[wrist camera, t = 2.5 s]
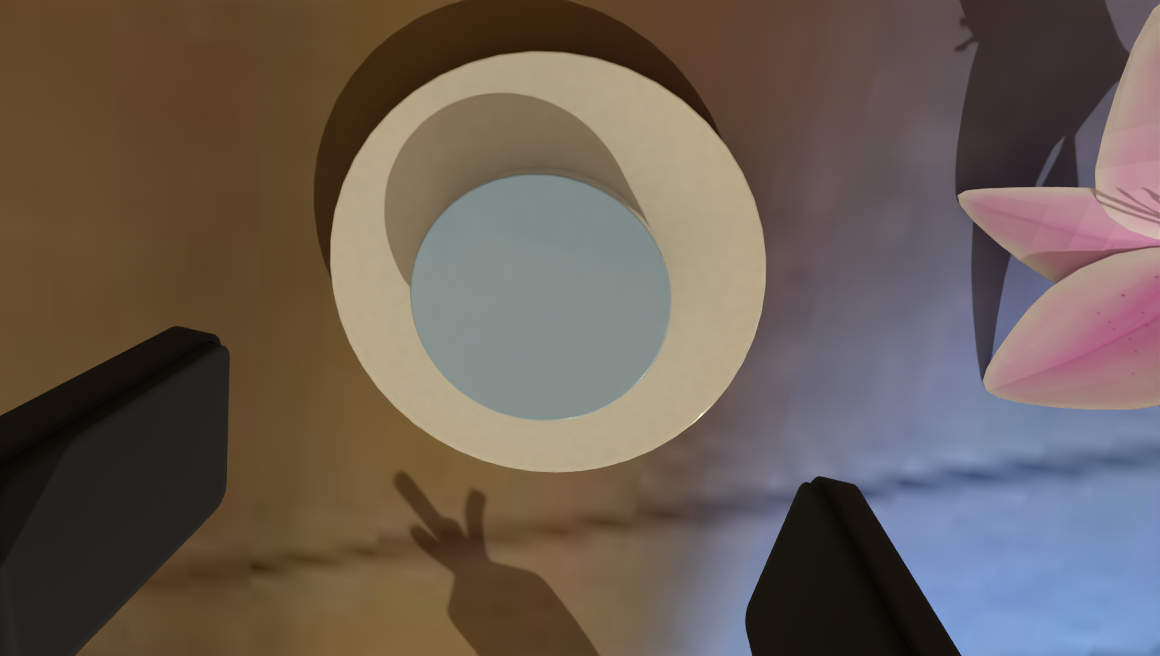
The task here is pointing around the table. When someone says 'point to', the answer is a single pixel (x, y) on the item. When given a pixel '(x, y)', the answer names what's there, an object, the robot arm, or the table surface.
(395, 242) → the dessert plate
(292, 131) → the table surface
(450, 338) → the blue-grey cylinder
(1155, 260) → the lily
